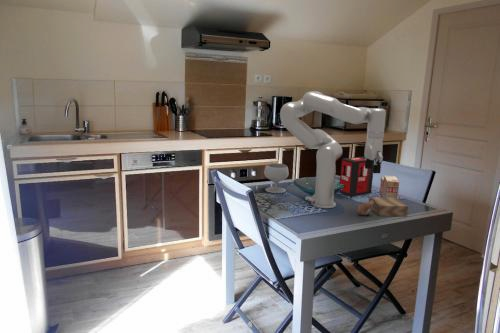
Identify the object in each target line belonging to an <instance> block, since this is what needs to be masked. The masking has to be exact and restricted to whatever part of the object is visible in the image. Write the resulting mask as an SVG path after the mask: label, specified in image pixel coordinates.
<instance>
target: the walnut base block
mask: <svg viewBox="0 0 500 333" xmlns="http://www.w3.org/2000/svg"><path fill="white" fill-rule="evenodd" d="M372 199H374V200H375V204H373V206H372V207H371V210H372V211H373V212H374V213H375V214H376V215H377V216H378V217H404V216H403V215H407V216H408V211H409V205H407V204H406V203H404V202H403V201H402V200H400V199H399V198H398V197H397V198H396V197H382V196H381V197H379V196H378V197H377V196H370V197H369V198H368V202H369V201H371V200H372Z"/></svg>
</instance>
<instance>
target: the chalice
mask: <svg viewBox="0 0 500 333" xmlns="http://www.w3.org/2000/svg"><path fill="white" fill-rule="evenodd" d="M289 171H290V170H289V168H288V165H286V164H284V163H279V162H277V163H275V162H273V163H267V164H266V165H265V168H264V171H263V173H264V176H265V178H267V179H268V180H269V181H271V182H272V183H273V185H274V186H270V187H266V188H265V189H264V190H265V192H268V193H271V194H283V193H284V194H285V193H287V189H286V188H284V187H279V186H278V184H279V183H280V182H282V181H284V180H285V179H287V178H288V177H289Z"/></svg>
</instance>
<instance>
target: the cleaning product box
mask: <svg viewBox="0 0 500 333" xmlns="http://www.w3.org/2000/svg"><path fill="white" fill-rule="evenodd" d="M365 158H366V157H365V156H354V157H345V158H341V164H340V166H341V167H340V178H339V185H340V184H344V188H343V189H342V190H340V191H339V190H338V193H339V194H341V195H344V196H347V197H349V198H351V197H356V196H357V197H358V196H362V195H368V194H372V187H373V177H374V173H373V169H374V165H375V163H374V159H373V160H372V168H371V169H365Z"/></svg>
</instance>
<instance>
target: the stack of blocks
mask: <svg viewBox="0 0 500 333" xmlns="http://www.w3.org/2000/svg"><path fill="white" fill-rule="evenodd" d="M379 185H380V186H379V193H380V195H381V197H396V198H397V199H398V193H399V187H400V181H399V179H398V178H397V177H396V176H395V175H383V176H381V177H380V183H379Z"/></svg>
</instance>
